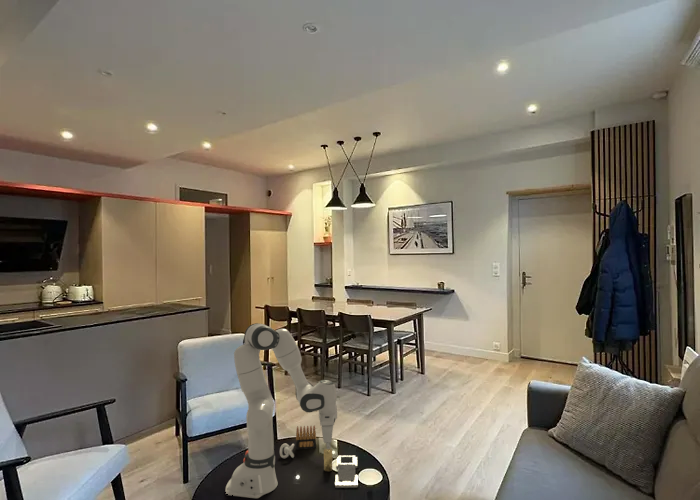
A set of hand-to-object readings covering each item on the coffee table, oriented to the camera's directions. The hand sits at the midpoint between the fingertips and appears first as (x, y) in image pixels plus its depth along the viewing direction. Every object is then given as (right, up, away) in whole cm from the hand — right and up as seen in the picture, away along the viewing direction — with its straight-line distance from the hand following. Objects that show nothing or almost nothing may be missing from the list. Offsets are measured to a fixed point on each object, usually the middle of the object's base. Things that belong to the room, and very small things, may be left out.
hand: (329, 443), depth 190 cm
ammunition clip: (-13, -13, +21) cm, 28 cm away
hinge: (+8, -12, -3) cm, 15 cm away
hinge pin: (-1, -12, 0) cm, 12 cm away
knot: (-21, -13, +13) cm, 28 cm away
